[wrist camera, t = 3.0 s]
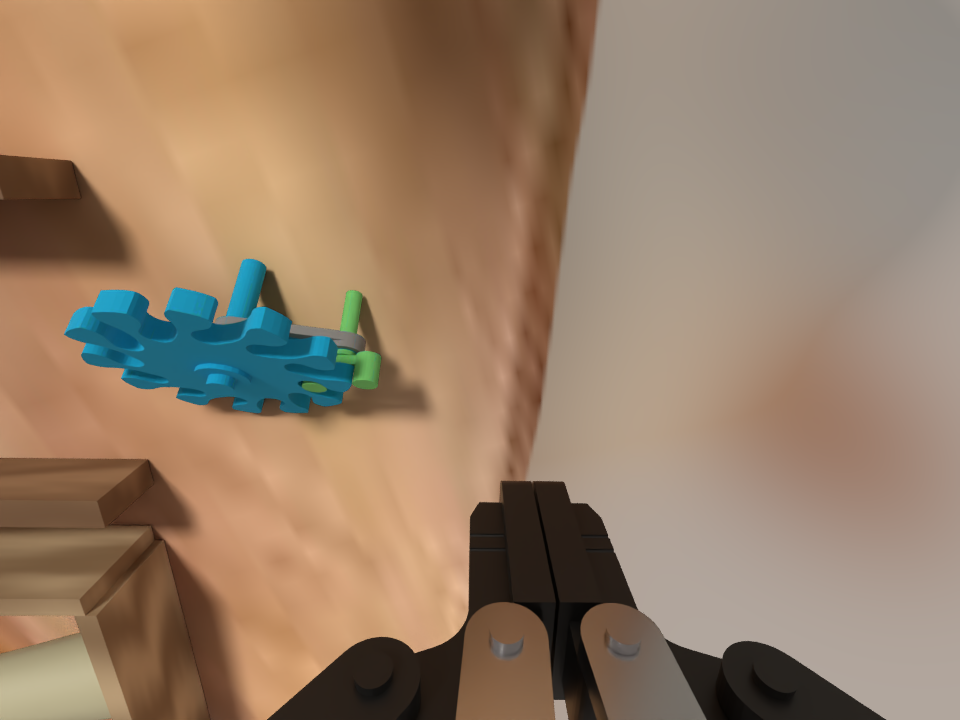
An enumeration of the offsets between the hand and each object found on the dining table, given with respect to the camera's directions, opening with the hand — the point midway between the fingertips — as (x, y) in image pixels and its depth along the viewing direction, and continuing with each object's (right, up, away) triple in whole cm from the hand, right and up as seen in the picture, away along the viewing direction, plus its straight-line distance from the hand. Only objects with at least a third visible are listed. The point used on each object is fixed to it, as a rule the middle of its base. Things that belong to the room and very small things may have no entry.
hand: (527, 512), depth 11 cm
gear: (-11, +5, +11) cm, 17 cm away
